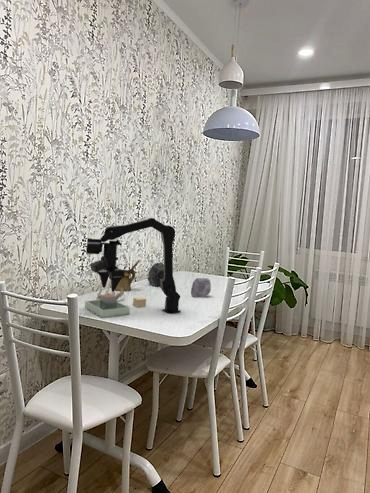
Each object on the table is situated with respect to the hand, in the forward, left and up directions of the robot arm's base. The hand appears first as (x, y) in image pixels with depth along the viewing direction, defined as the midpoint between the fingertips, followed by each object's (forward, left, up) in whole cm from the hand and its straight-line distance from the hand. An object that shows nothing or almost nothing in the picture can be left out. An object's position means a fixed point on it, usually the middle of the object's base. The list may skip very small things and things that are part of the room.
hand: (108, 289), depth 171 cm
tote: (0, 0, -10) cm, 10 cm away
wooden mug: (+37, -30, -10) cm, 48 cm away
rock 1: (+42, -55, -10) cm, 70 cm away
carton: (+2, -18, -10) cm, 20 cm away
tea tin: (0, 0, -9) cm, 9 cm away
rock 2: (+7, -60, -10) cm, 61 cm away
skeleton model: (+21, -12, -10) cm, 26 cm away
